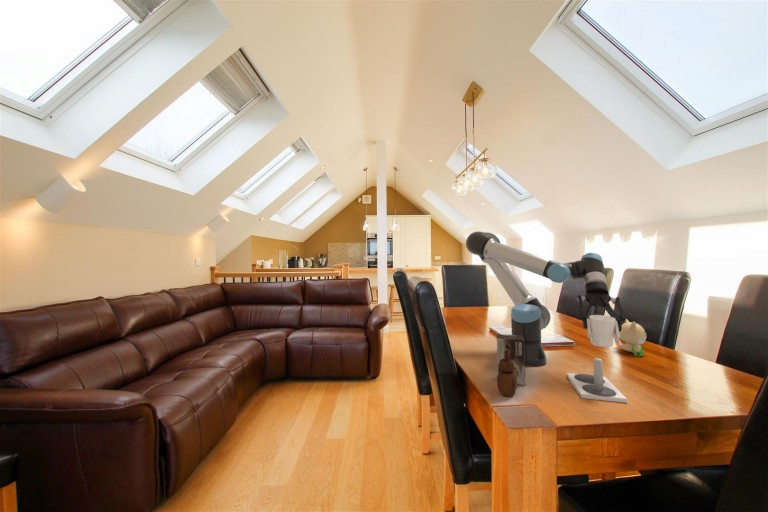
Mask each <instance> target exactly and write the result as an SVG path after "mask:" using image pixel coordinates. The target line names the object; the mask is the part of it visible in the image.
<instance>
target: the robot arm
mask: <svg viewBox="0 0 768 512" xmlns="http://www.w3.org/2000/svg"><path fill="white" fill-rule="evenodd" d="M465 241H466V242H465V246H466V249H467V251H468V252H469V253H470V254H473V255H476V256H478V257H479V258H480V260H481V261H482V262H483V263H485V264H487V265H488V266H489V267H490V269H491V271H492V272H493V274H494V276H495V278H496V279H497V281H498V282H499V283H500V285H501V287H502V288H503V289H504V291H505V293H507V296H508V297H509V298H510V300H511V301H512V303H513V304H514V306H512V308H511V311H510V318H511V319H510V321H511V335H522V336H523V339H524V355H525V366H526V365H527V366H528V367H541V366H544V365H546V364H547V356H546V352H545V350H544V347H543V345H542V330H544V329H546V328H547V327H548V325H549V324H550V323H551V313H550V310H549V309H548V308H547V307H546V306H545V305H543V304H542V303H541V302H540V300H539V299H538V298H537V297H536V296H532V295H531V293H530V292H529V291H528V289H527V288H526V286H525V285H524V283H523V282H522V281H521V279H520V278H519V276H518V275H517V273H516V272H515V270H514V269H513V267H516V268H519V269H522V270H524V271H527V272H530V273H533V274H536V275H538V276H542V277H544V278H546V279H549V280H550V281H552V282H554V283H556V284H557V283H558V284H562V283H565V282H567V281H572V280H573V281H574V280H578V279H583V285H584V291H585V295H579V294H578V295H577V298H576V301H577V312H576V320H578V321H582V326H583V329H584V330H586V332H587V334H586V335H587V338H588V339H590V337H591V328H590V320H589V316H590V313H591V311H592V309H593V307H594V308H596V307H597V308H599V307H600V308H603V309H604V310H605V311H606V313H607V314H608V316H610V317H613V318H615V332H614V339H615V338H616V341H619V340H620V339H621V338H620V334H619V332H621V330H622V324H623V323H625V321H626V319H627V317H626V314H625V312H624V309H623V308H622V307H623V306H622V305H621V303H620V301H621V298H620V297H619V296H617V297H611V295H610V294H609V288H608V283H607V278H606V273H605V272H606V271H605V266H604V261H603V258H602V256H601V255H600V254H598V253H596V252H587V253H585V254H584V255H582V256H581V259H580V260H576V261H570V262H565V263H561V262H557V261H554V260H552V259H548V258H545V257H542V256H539V255H537V254H533V253H530V252H528V251H524V250H522V249H519V248H517V247H516V248H515V247H512V246H510V245H507V244H504V243H501V241H500V239H499V237H498V236H497V235H495V234H493V233H491V232H485V231H484V232H483V231H474V232H472V233H470V234H469V235H468V236H467V238H466V240H465ZM512 266H513V267H512ZM584 301H586V302H588V305H587V306H586V310H585V311H584V314H583V315H582V308H583V302H584ZM610 302H612V304H613V305H614V309H615V310H616V311H615V310H614V309H613V308H612V306H611V304H610ZM527 366H526V367H527Z"/></svg>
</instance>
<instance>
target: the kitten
mask: <svg viewBox="0 0 768 512" xmlns="http://www.w3.org/2000/svg"><path fill="white" fill-rule="evenodd" d="M621 326H622V330H621V332H619V334H620V339H621V340H622V341H623V342H625V343H624V344H623V343H622V342H621V340H620V339H619V341H616V338H615V337H614V341H615V343H616V344H617V345H618V346H619V347H620V348H621V349H623V350H625V351H626V352H629V353H633V356H635V357H639V356H643V357H644V349H643V346H642V344H644V343H645V342H646V339H647V336H648V334H647V332H646V331H645V329H644V328H643V326H642V325H641V324H639V323H636V321H632V322H630V321H629V320H628V319H627V318H626V321H625V323H622V324H621Z"/></svg>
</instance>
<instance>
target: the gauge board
mask: <svg viewBox="0 0 768 512" xmlns="http://www.w3.org/2000/svg"><path fill="white" fill-rule="evenodd" d="M603 362H604V361H603V359H601V358H597V357H595V358H593V375H594V384H589V383H584V382H581V381H579V380H577V379H575V378H574V376H575V375H577V374H578V373H570V372H566V377H567V378H569V379H568V380H569V382H570V383H571V385H572V386H573V387H574V389H575V391H576V392H577V394H578V395H579V396H580V398H581V399H588V400H598V401H607V402H615V403H626V404H628V398H627V397H626V396H625V395H624V394H623V393H622V392H621V391H620V390H619V389H618V388H617V387H616V386H615V385H614V384H613V383H612V382H611V381H610V380H609V379H608V378H607V377H606V376H604V367H603V366H604V363H603ZM603 379H604V380H605V383H603Z"/></svg>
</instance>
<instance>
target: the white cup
mask: <svg viewBox="0 0 768 512" xmlns="http://www.w3.org/2000/svg"><path fill="white" fill-rule="evenodd" d="M588 319H589V320H590V328H591V337H590V338H589V339H590V340H589V341H590V344H591V345H593V346H596V347H600V348H612V347H614V340H615V318H613V317H610V315H603V314H591V315H590V314H589V316H588Z"/></svg>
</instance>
